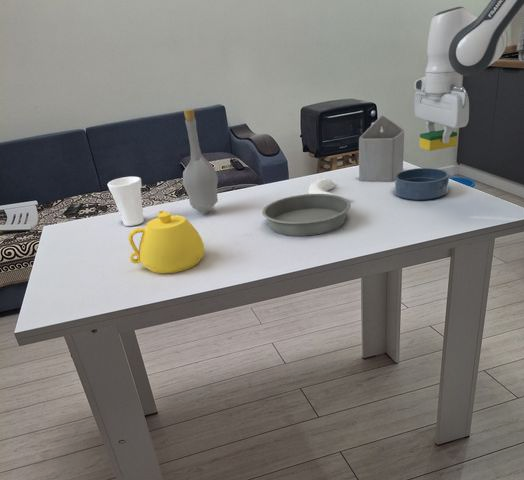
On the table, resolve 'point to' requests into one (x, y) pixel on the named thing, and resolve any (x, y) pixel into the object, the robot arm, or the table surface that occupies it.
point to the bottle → (199, 172)
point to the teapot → (167, 244)
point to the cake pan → (306, 214)
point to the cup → (128, 199)
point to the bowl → (421, 183)
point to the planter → (381, 151)
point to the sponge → (436, 140)
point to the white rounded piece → (321, 187)
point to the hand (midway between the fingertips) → (438, 140)
